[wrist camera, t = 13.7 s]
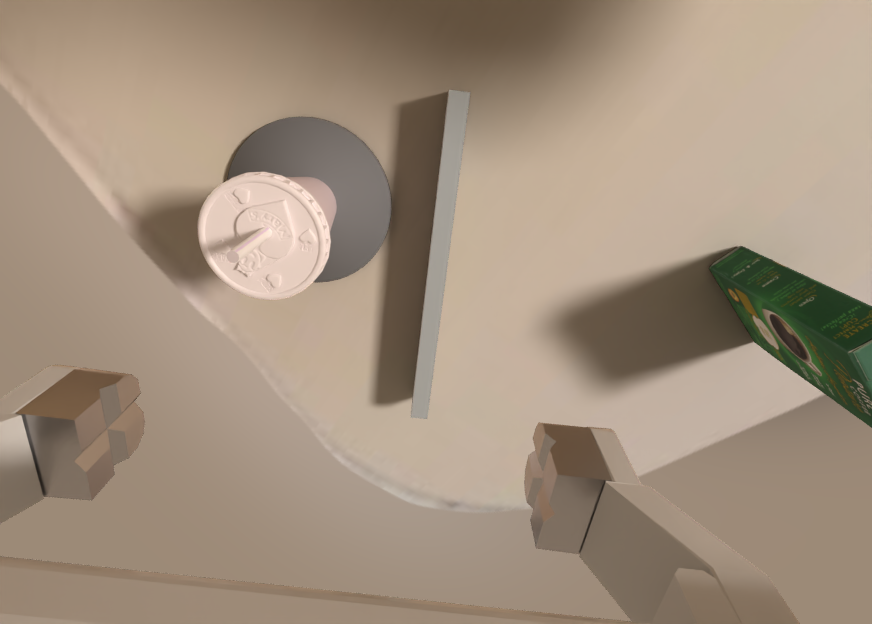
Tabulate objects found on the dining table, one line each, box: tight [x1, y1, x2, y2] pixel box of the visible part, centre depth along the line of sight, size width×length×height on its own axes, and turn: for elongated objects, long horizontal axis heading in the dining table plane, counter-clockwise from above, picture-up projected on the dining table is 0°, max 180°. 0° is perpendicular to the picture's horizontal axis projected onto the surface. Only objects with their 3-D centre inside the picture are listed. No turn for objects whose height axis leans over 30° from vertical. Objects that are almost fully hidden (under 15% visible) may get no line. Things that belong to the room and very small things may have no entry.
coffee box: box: [709, 246, 872, 427], centre depth 30 cm, size 8×3×13 cm, turn 39°
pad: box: [227, 117, 392, 282], centre depth 33 cm, size 11×11×1 cm
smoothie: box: [198, 172, 337, 300], centre depth 26 cm, size 6×6×14 cm
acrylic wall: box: [411, 90, 470, 419], centre depth 33 cm, size 22×1×4 cm, turn 173°
